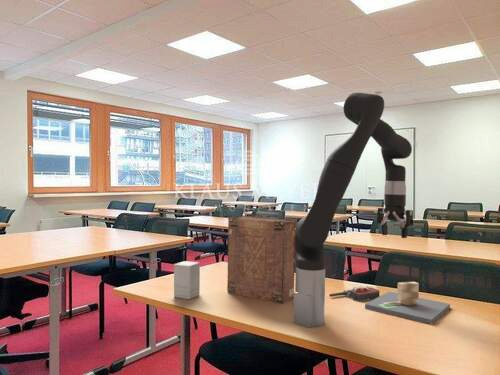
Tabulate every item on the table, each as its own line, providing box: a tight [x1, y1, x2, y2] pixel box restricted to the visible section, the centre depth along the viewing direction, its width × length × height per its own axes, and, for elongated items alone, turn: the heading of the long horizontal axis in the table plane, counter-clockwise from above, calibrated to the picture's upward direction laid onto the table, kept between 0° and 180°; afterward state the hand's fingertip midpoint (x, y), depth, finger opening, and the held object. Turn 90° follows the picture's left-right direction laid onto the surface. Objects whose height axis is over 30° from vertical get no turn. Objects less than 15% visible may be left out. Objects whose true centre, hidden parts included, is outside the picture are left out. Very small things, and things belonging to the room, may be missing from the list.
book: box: [226, 215, 296, 304], centre depth 146 cm, size 25×9×30 cm, turn 57°
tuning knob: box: [383, 281, 420, 306], centre depth 132 cm, size 14×6×7 cm, turn 106°
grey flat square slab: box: [364, 291, 451, 325], centre depth 133 cm, size 22×22×2 cm
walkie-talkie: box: [329, 285, 381, 302], centre depth 145 cm, size 9×4×20 cm
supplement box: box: [173, 260, 201, 300], centre depth 143 cm, size 7×7×13 cm
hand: (394, 236), depth 140 cm, fingers open, 8 cm apart
